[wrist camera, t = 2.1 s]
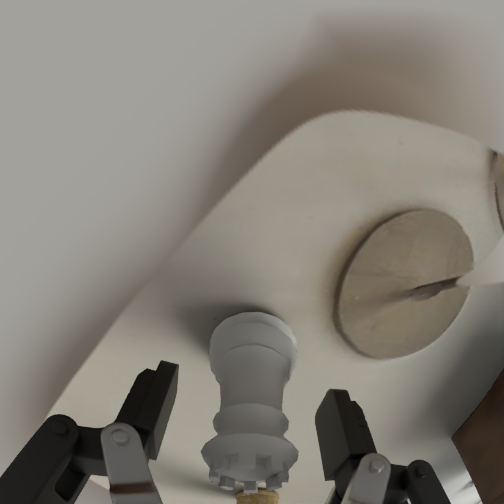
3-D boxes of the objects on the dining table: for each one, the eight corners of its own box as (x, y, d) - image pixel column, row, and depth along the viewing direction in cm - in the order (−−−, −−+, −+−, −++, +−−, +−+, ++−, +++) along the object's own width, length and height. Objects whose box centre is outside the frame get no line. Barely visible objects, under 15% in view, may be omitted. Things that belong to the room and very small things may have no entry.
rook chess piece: (207, 367, 15) (181, 492, 7) (214, 300, 13) (175, 436, 6) (285, 377, 15) (298, 501, 7) (304, 312, 14) (341, 449, 6)
